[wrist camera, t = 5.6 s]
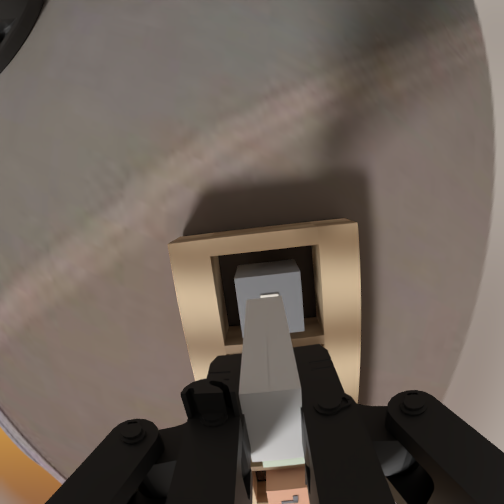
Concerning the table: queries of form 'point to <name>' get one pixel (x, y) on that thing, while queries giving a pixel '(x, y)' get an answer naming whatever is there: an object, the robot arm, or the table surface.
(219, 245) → the keypad frame
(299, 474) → the terracotta key
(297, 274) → the charcoal key
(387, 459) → the robot arm
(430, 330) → the table surface
